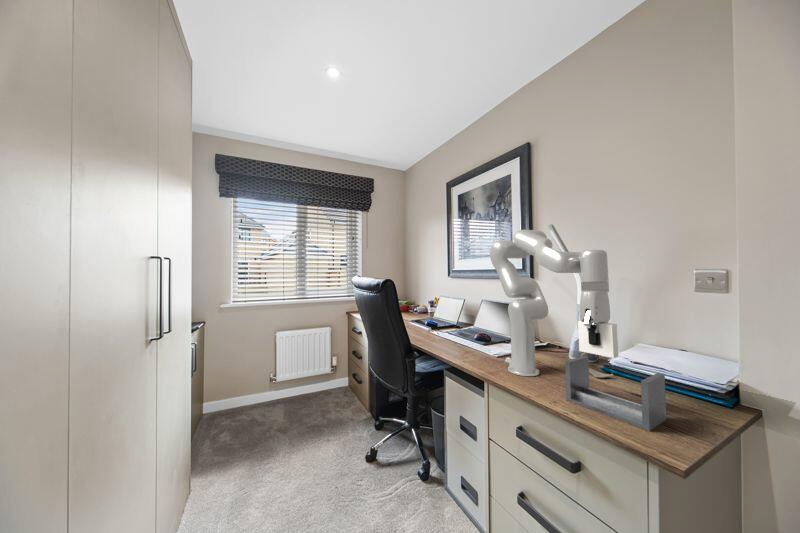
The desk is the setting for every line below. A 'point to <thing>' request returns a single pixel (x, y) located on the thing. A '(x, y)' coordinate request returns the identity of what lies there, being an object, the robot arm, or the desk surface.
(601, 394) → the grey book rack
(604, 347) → the door
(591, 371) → the jawbone
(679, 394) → the desk surface
